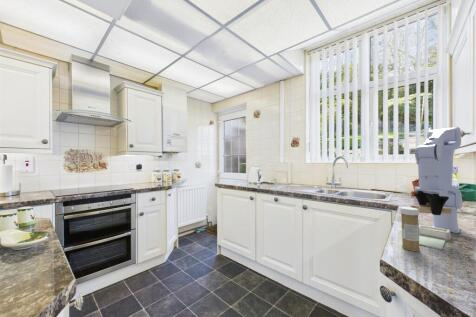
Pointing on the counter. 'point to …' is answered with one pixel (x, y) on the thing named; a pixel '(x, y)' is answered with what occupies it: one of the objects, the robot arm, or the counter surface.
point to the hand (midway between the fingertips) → (430, 213)
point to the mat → (431, 242)
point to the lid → (427, 209)
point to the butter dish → (434, 232)
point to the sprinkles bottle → (410, 228)
